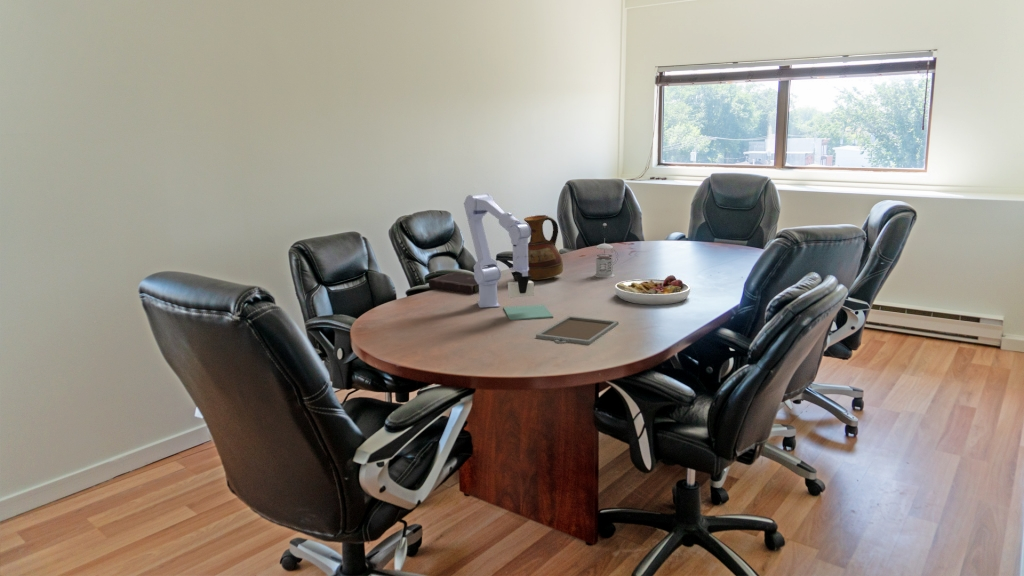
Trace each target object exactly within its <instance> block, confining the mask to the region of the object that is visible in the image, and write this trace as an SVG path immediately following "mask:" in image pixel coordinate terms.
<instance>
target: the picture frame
mask: <svg viewBox="0 0 1024 576" xmlns="http://www.w3.org/2000/svg"><path fill="white" fill-rule="evenodd" d="M616 326H619V321H618V320H611V319H603V318H593V317H584V316H574V315H567V316H566V317H565V318H562V319H561V320H559V321H557V322H555V323H554V324H553V325H551V326H548V327H547V328H546V329H545V328H544V330H542V331H540V332H538V333H537V334H536V335H535V338H536V339H540V338H541V340H548V339H549V340H548V341H553V340H554V342H555V344H559V343H563V344H570V343H571V342H572V344H578V343H579V344H581V345H587V346H589V345H591V344H592V343H594V342H596V341H597V340H598V339H599V338H601V337H603V336H604V335H606V334H607V333H608V332H610V331H611V330H612V329H614V328H615V327H616ZM602 335H603V336H602ZM595 340H596V341H595ZM567 342H568V343H567Z"/></svg>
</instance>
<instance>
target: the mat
mask: <svg viewBox="0 0 1024 576" xmlns="http://www.w3.org/2000/svg"><path fill="white" fill-rule="evenodd" d="M503 311H504V312H505V313H506V315H507V317H508V319H509V320H510V321H522V320H537V319H538V320H539V319H554V315H553V314H552V313H551V311H550V310H548V308H547V307H546V306H545V304H537V305H534V304H533V305H517V306H504V307H503Z"/></svg>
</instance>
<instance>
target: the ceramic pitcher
mask: <svg viewBox="0 0 1024 576" xmlns="http://www.w3.org/2000/svg"><path fill="white" fill-rule="evenodd" d="M523 220H524V222H525V223H527V224H528V225H529V226H530V228H531V235H530V237H529V241H528V267H529V270H528V275H531V277H530V279H529V280H534V281H535V280H537V281H538V280H547V279H550V278H555V277H557V276H559V275H560V274H562V273H563V272H564V263H563V257H562V255H561V253H560V250H558V248H557V246H556V245H557V244H556V243H557V240H558V235H559V226H558V223H557V221H556V220H555V219H554V218H553V217H551V216H549V215H546V214H543V215H541V214H540V215H539V214H536V215H535V216H532V215H531V216H527V217H525V218H523ZM545 221H550V222H551V225H552V234H551V237H550V239H547V238H546V237H545V234H544V230H543V229H544V223H545Z"/></svg>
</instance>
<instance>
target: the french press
mask: <svg viewBox="0 0 1024 576" xmlns="http://www.w3.org/2000/svg"><path fill="white" fill-rule="evenodd" d="M602 226H603V227H606V226H608V225H607V223H605V222H604V223H603V224H602ZM605 241H606V239H604V241H603V243H600V244H598V245H597V246H595V249H597V250H604V253H601V254H596V257H597V258H596V259H595V261H596V262H595V264H596V268H595V269H596V270H595V271H596V272H595V274H594V275H593V276H594V277H597V278H604V279H605V278H606V279H607V278H613V277H615V276H616V275H615V274H614V270H613V269H614V268H613V267H614V265H615V263H617V262H618V260H619V254H618V252H617V250H616V249H613V248H614V246H612V245H611V244H609V243H606V242H605ZM606 250H610V252H611V253H613V252H614V253H615V260H614V257H613V255H612V254H609V253H608V254H607V253H606ZM612 257H613V258H612ZM613 260H614V261H613Z"/></svg>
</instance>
